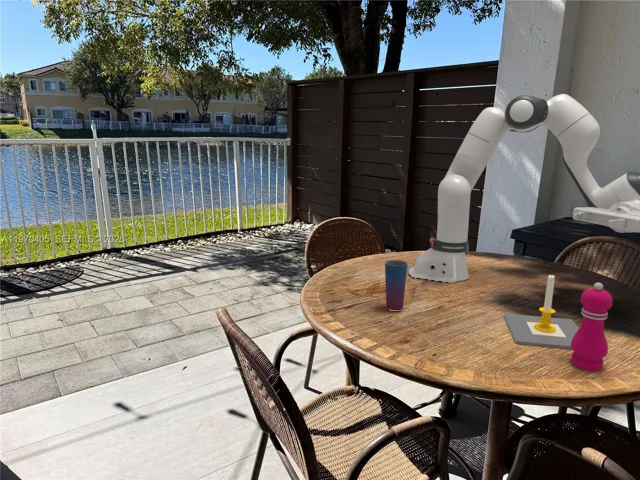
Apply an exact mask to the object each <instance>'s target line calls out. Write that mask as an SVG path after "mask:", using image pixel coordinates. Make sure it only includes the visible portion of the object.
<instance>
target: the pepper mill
mask: <svg viewBox="0 0 640 480" xmlns="http://www.w3.org/2000/svg"><path fill="white" fill-rule="evenodd" d="M603 288H604V285H603V284H602V283H601V282H594V284H593V287H592V288H588V289H585V290H584V291H582V293H581V295H580V303H581V305H582V306H583V307H581V312H580V314H581V315H582V320H581V324H580V326H579V327H578V328H579V329H578V331H577V332H576V333H575V335H574V336H573V338H572V341H571V348H572V349H573V350H572V349H571V350H572V351H573V352H572V353H571V359H570V362H571V364H573V366H575V367H577V368H579V369H582V370H585V371H591V372H596V371H597V372H598V371H601V370H602V369H603V368H604V367H603V366H604V359H603V358H605V357H606V356H607V355H608V352H609V347H608V346H609V345H608V341H607V338H606V335H605V331H604V330H605V329H604V325H605V320H607V319H608V314H609V312H608V311H609V310H610V309H611V308H612V306H613V297H612V296H611V294H610V293H609V292H608V291H606V290H604V289H603Z"/></svg>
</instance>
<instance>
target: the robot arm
mask: <svg viewBox="0 0 640 480" xmlns="http://www.w3.org/2000/svg"><path fill="white" fill-rule="evenodd" d="M540 126H543V127H545V128H547V129H548V130H549V131H550V132H551V134H553V135H554V136H555V138H557V140H558V141H559V143H560V145H561V148H562V152H563V153H562V156H561V159H562V162H563V164H564V166H565V168H566V170H567V172H568V174H569V175H570V177H571V179H572V180H573V182H574V184H575V185H576V187H577V188H578V190H579V192H580V194H581V195H582V198H583V199H584V201H585V203H586V206H583V207H574V209H573V211H572V219H573V220H574V221H580V222H585V223H589V224H595V225H601V226H605V227H607V228H608V227H609V228H610V229H612V230H613V231H614V232H617V233H620V234H621V233H622V234H624V233H639V234H640V171H628V172H627V173H625V174H623V175H621V176H619V177H618V178H616V179H615V180H613V181H611V182H610V183H608V184H606V185H604V186H603V187H601V186H599V184H598V182H597V181H596V179H595V177H594V176H593V174H592V173H591V171H590V169H589V167H588V164H587V163H588V158H589V157H590V156H589V155H590V154H591V152H592V151H593V149H594V148H595V146H596V145H597V142H598V140H599V138H600V135H601V129H600V128H601V127H600V124H599V123H598V121H597V120H596V118H595V117H594V116H593V115H592V114H591V113H590V112H589V111H588V110H587V109H586V108H585V107H584V106H583V105H582V104H581V103H580V102H578V100H576V99H575V98H573V97H572V96H570V95H569V94H565V93H560V94H557V95H555V96H553V97H551V98H549V99H548V100H545V99H544V98H540V97H536V96H533V95H528V94H523V95H522V94H521V95H519V96H516V97H514V98H513V99H511V100H510V101H509V102H508V104H507V105H506V107H505V108H503V109H502V108H499V107H495V106H492V107H491V106H490V107H489V106H488V107H486V108H484V109H483V110H482V111H481V112H480V113H479V115H478V116H477V118H476V119H475V120H474V122H473V123H472V124H471V127H470V128H469V131H468V132H467V133H466V135H465V137H464V139H463V141H462V143H461V145H460V147H459V149H458V150H457V152H456V155H455V157H454V158H453V161H452V162H451V165H450V166H449V168H448V171H447V172H446V174H445V176H444V178H443V179H442V180H441V181H440V183H439V184H438V189H437V229H436V238H435V237H430V239H429V243H430V248H429V249H427V250H425V251H424V252H422V253H421V254H419V255H418V256H417V257H416V260H415V263H414V265H413V266H411V267H410V268H409V270H408V275H409V274H410V275H411V276H413V277H417V278H422V279H421V280H423V279H428V280H427V281H431V280H434V281H433V282H438V281H442V282H441V283H446V282H448V284H454V283H457V282H461V281H465V280H467V279H469V278H470V275H469V270H468V262H467V261H468V260H467V259H468V258H467V257H468V253H469V240H468V234H469V222H470V221H469V220H470V206H471V205H470V204H471V193H472V190H473V189H474V187H475V185H476V184H477V182H478V180H479V178H480V177H481V175H482V174H483V172H484V170H485V168H486V167H487V165H488V164H489V161H490V159H491V157H492V156H493V154H494V153H495V151H496V149H497V147H498V145H499V143H500V141H501V140H502V138H503V137H504V136H505V134H506V133H508V132H513V133H516V132H517V133H530V132H533V131H534V130H535V129H537V128H538V127H540Z"/></svg>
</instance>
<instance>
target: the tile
mask: <svg viewBox="0 0 640 480" xmlns="http://www.w3.org/2000/svg"><path fill="white" fill-rule="evenodd" d="M503 317H504V319H505V322H506V325H507V327H508V328H509V331H510V333H511V337H512V338H513V341H514V343H515V344H516V345H524V346H533V347H534V346H535V347H542V348H543V347H545V348H555V349H565V350H572V351H573V349H572V348H571V341H572V338H573V336H574V335H575V333H576V332H577V331H578V329H579V328H580V327H578V326H577V324H576V323H575V321H574V320H573V319H570V318H559V317H551V320H552V321H553V322H552V324H550V325H552V326H554V327H555V328H556V331H555V332H552V333H547V332H542V331H539V330H537V329H535V327H534V325H535V324H536V323H541V322H540V321H539V319H540V318H542V316H538V315H525V314H514V313H513V314H512V313H504V314H503Z"/></svg>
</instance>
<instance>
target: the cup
mask: <svg viewBox="0 0 640 480" xmlns="http://www.w3.org/2000/svg"><path fill="white" fill-rule="evenodd" d="M407 273H408V262H407V261H405V260H402V259H387V260H385V261H384V276H385V278H384V279H385V306H386V307H387V308H388V309H391V310H401V309H403V310H404V303H405V302H404V301H405V293H406V283H407V282H406V281H407Z"/></svg>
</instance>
